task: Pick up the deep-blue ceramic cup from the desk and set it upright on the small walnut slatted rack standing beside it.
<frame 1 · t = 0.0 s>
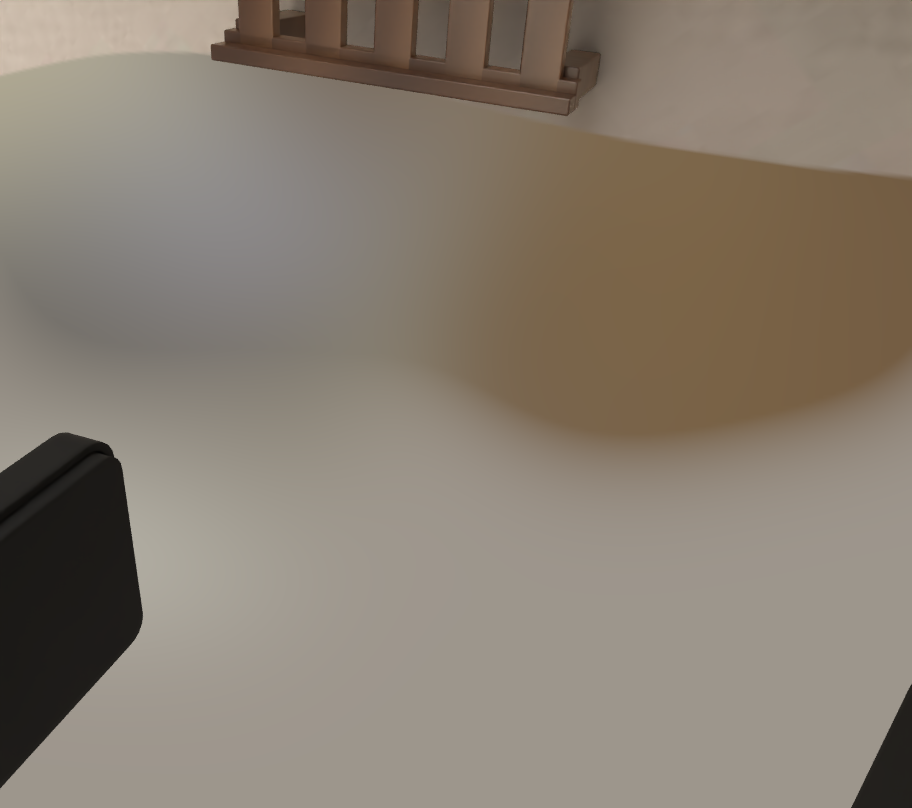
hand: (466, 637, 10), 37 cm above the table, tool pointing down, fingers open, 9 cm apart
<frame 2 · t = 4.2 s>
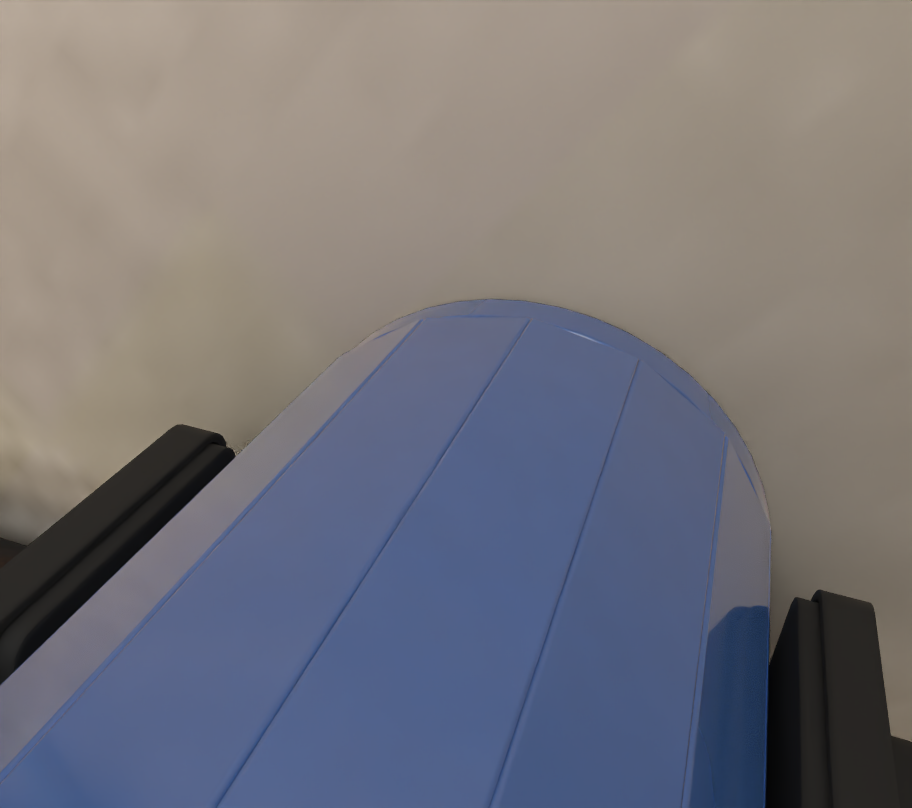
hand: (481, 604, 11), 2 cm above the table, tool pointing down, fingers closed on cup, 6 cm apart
cup: (518, 521, 12), on the table, touching gripper
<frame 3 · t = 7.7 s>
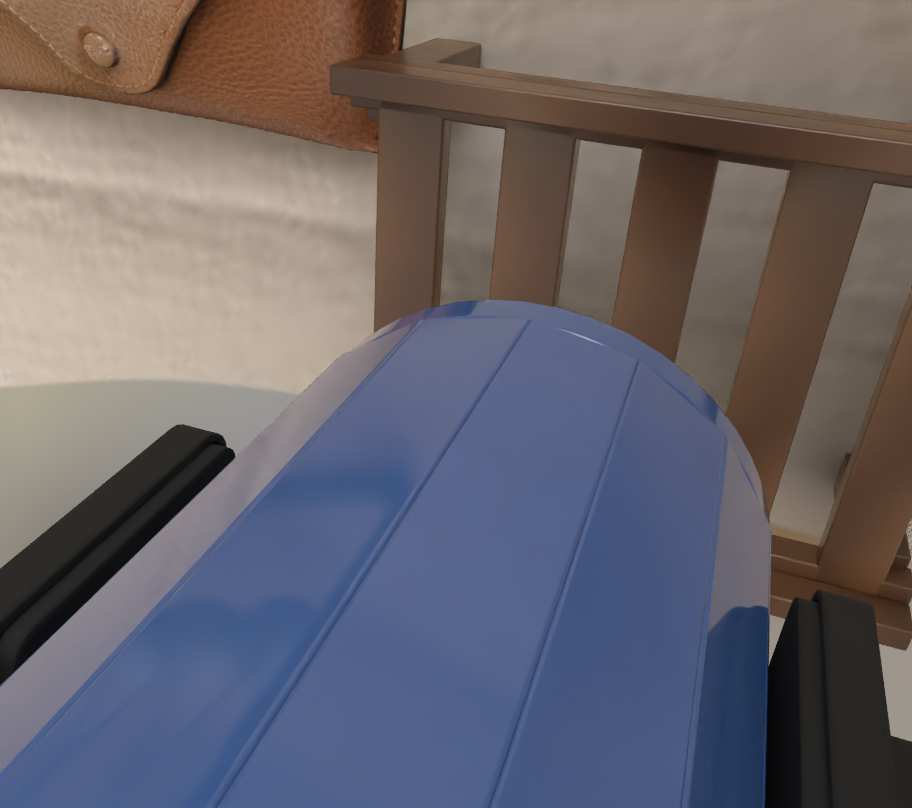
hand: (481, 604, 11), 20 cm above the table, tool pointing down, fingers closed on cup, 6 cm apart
cup: (518, 522, 12), point 18 cm above the table, touching gripper
rack: (666, 278, 28), on the table
when the fingers open (8 cm above the table, at t = 11.1 s): cup stays where it is, resting on rack.
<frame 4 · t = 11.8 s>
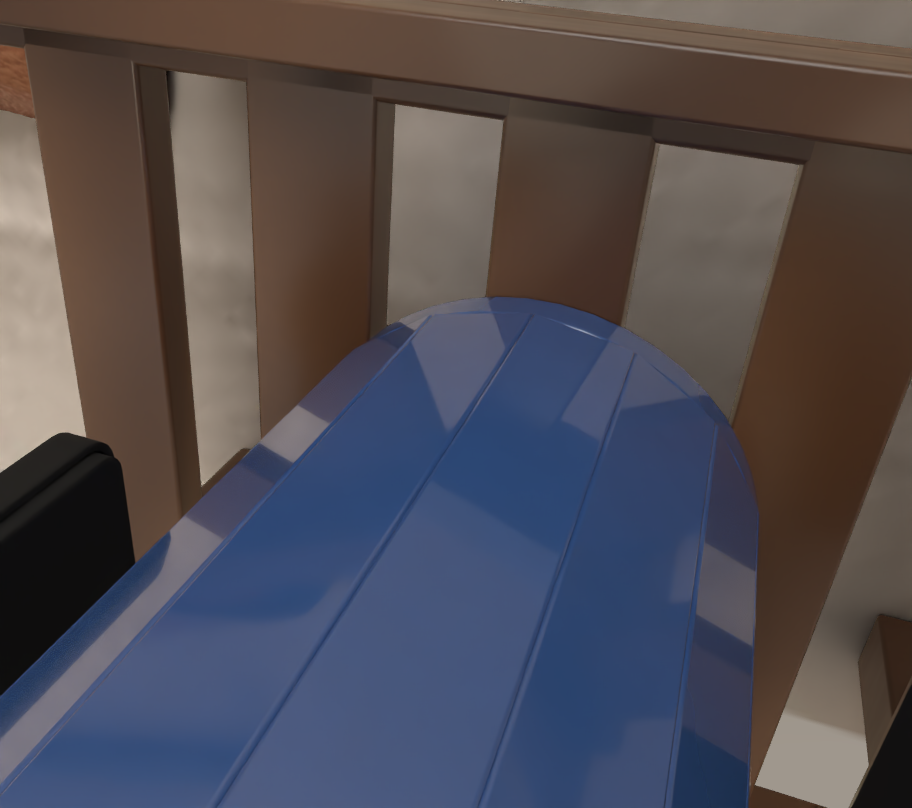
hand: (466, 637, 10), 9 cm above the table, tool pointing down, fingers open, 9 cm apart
cup: (520, 508, 13), point 6 cm above the table, touching rack
rack: (596, 341, 18), on the table
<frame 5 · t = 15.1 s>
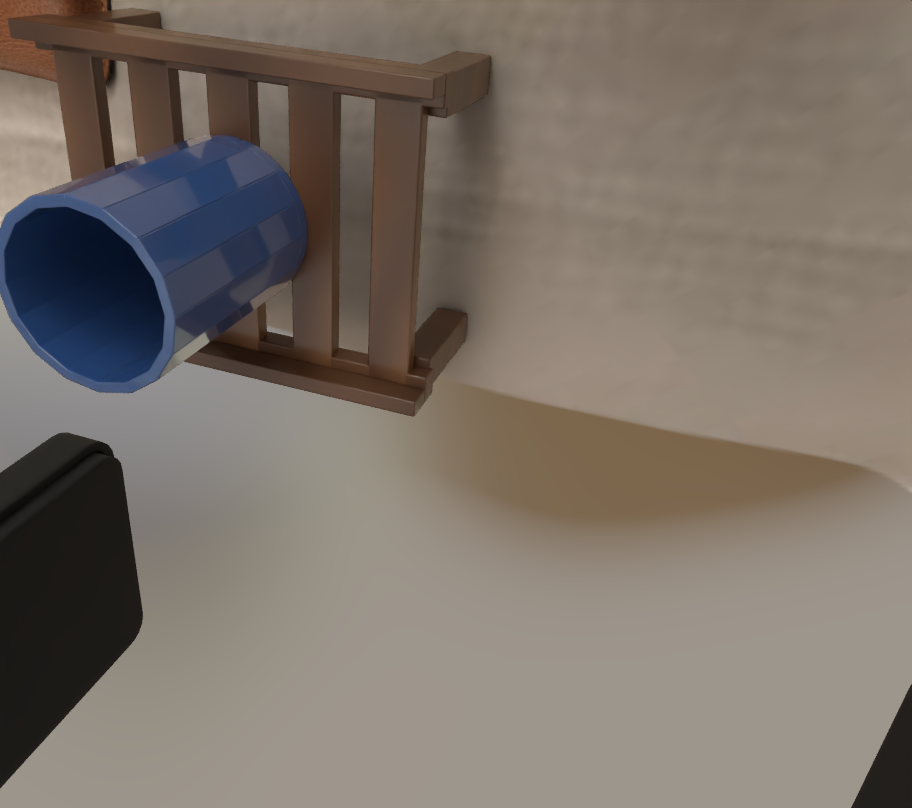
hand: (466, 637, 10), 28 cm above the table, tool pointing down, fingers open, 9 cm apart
cup: (233, 218, 35), point 6 cm above the table, touching rack
rack: (303, 180, 40), on the table
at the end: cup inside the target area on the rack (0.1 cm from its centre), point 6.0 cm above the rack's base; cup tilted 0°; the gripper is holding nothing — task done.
